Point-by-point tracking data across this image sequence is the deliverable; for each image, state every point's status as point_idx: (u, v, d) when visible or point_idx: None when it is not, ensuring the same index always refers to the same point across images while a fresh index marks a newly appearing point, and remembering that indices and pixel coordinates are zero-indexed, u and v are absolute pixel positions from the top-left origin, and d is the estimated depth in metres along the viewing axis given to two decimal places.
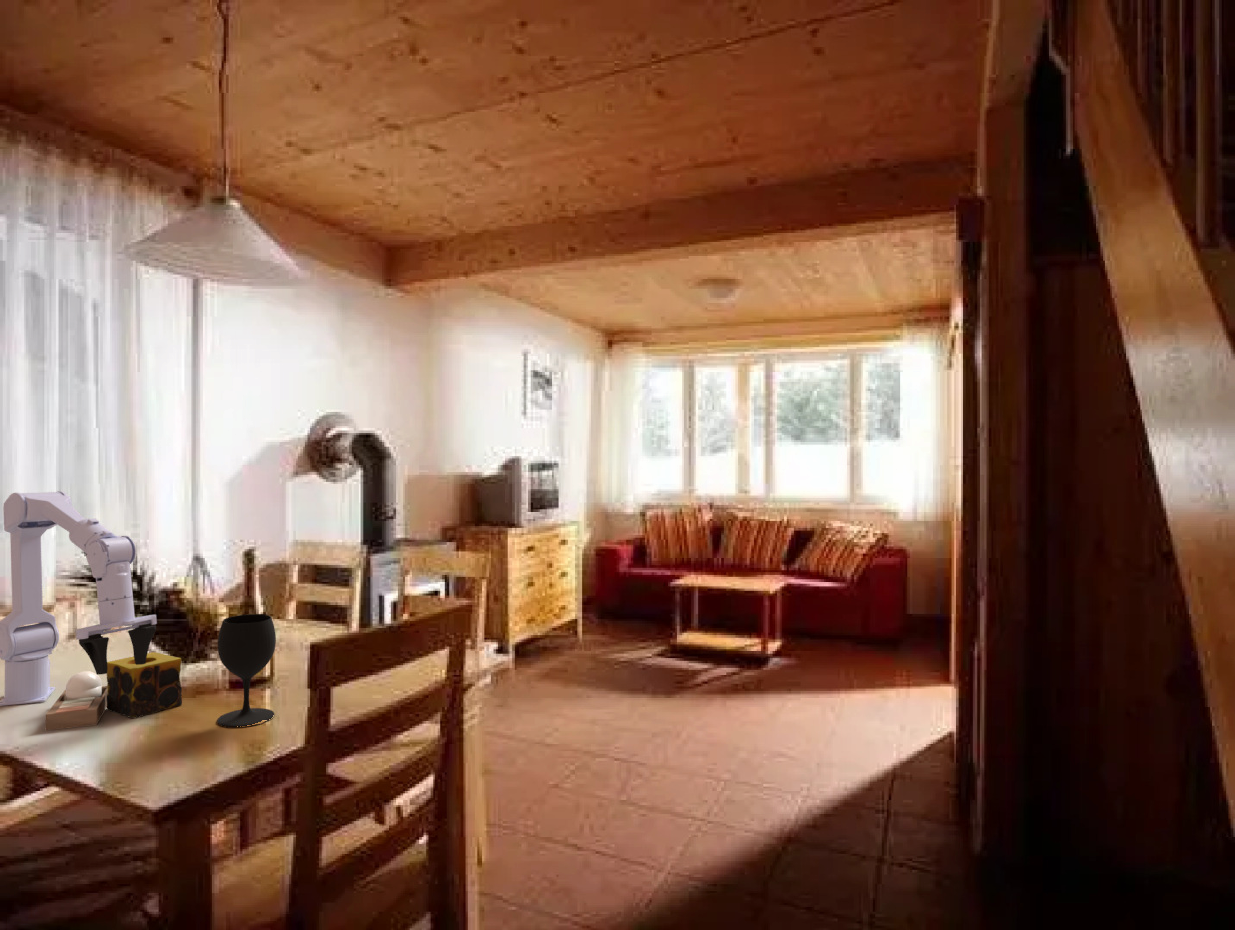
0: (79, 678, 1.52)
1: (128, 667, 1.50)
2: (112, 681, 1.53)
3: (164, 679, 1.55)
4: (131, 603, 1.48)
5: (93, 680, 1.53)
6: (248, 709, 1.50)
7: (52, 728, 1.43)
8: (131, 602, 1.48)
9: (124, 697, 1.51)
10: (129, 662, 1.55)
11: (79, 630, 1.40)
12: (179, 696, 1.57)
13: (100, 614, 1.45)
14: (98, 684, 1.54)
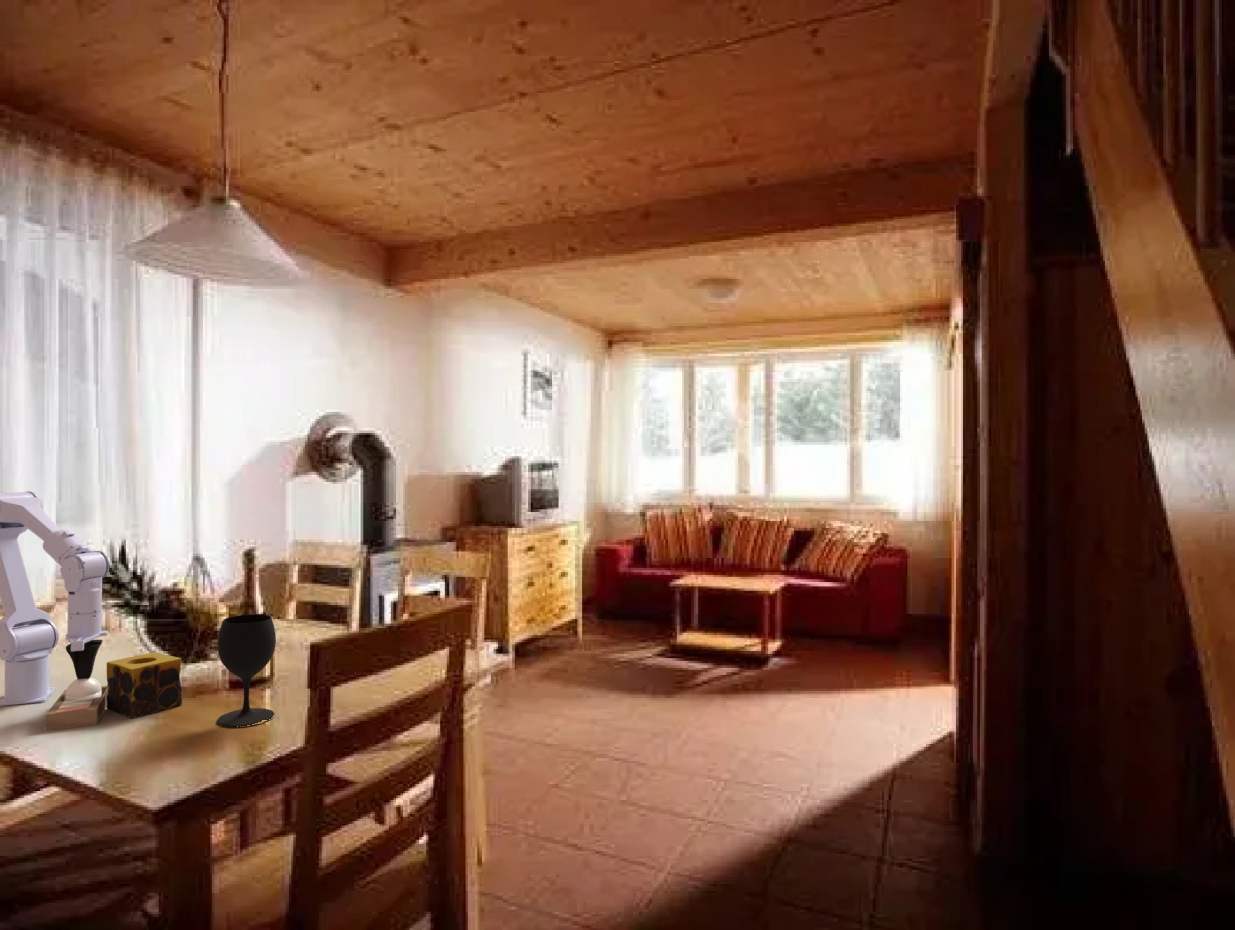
0: (79, 684, 1.52)
1: (128, 667, 1.50)
2: (112, 681, 1.53)
3: (164, 679, 1.55)
4: None
5: (93, 686, 1.53)
6: (248, 709, 1.50)
7: (52, 728, 1.43)
8: None
9: (124, 697, 1.51)
10: (129, 662, 1.55)
11: (77, 642, 1.48)
12: (179, 696, 1.57)
13: (78, 626, 1.51)
14: (98, 690, 1.54)
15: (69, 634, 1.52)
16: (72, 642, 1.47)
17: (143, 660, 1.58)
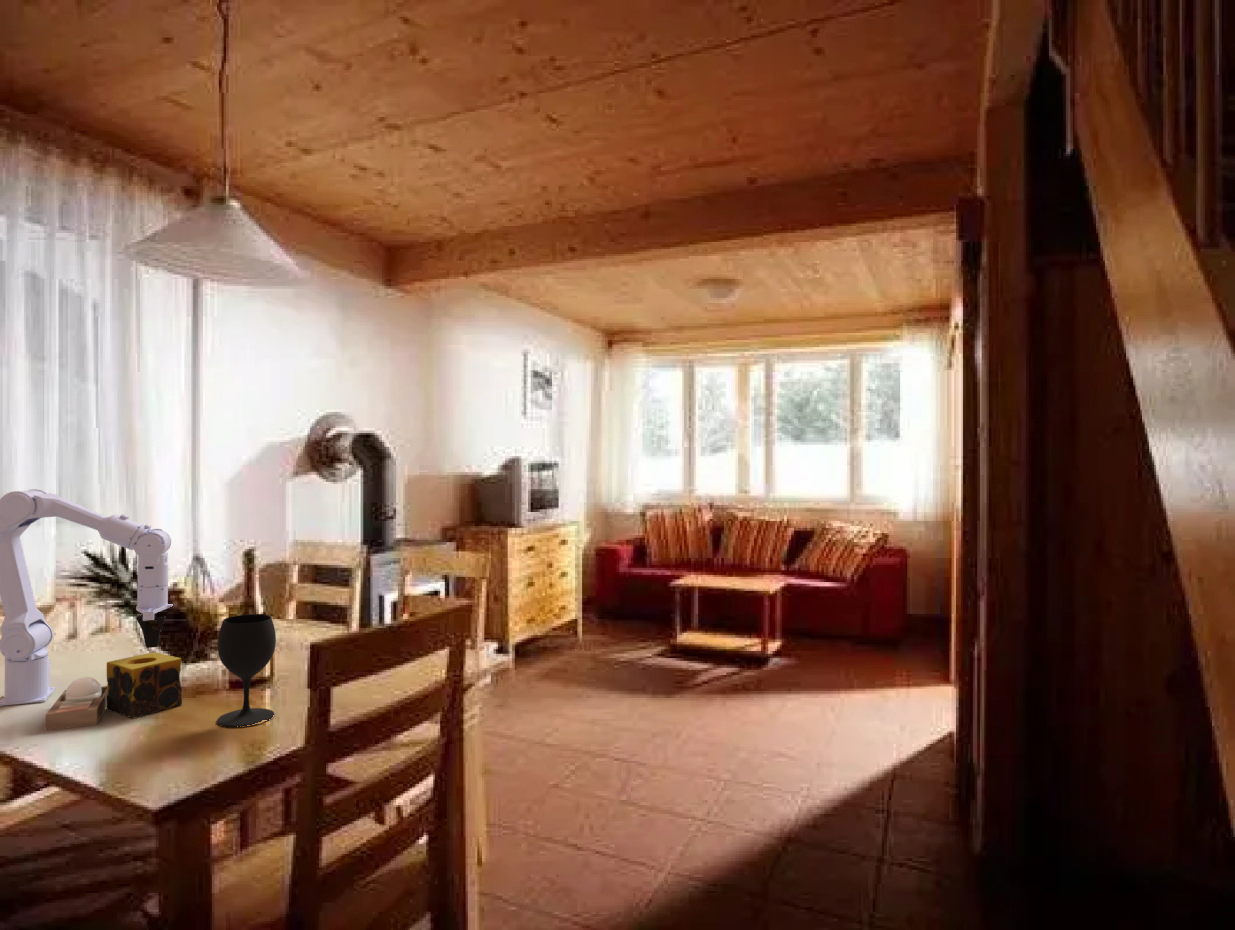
0: (79, 684, 1.52)
1: (128, 667, 1.50)
2: (112, 681, 1.53)
3: (164, 679, 1.55)
4: None
5: (93, 686, 1.53)
6: (248, 709, 1.50)
7: (52, 728, 1.43)
8: None
9: (124, 697, 1.51)
10: (129, 662, 1.55)
11: (149, 612, 1.60)
12: (179, 696, 1.57)
13: (148, 598, 1.63)
14: (98, 690, 1.54)
15: (139, 606, 1.63)
16: (144, 612, 1.59)
17: (143, 660, 1.58)
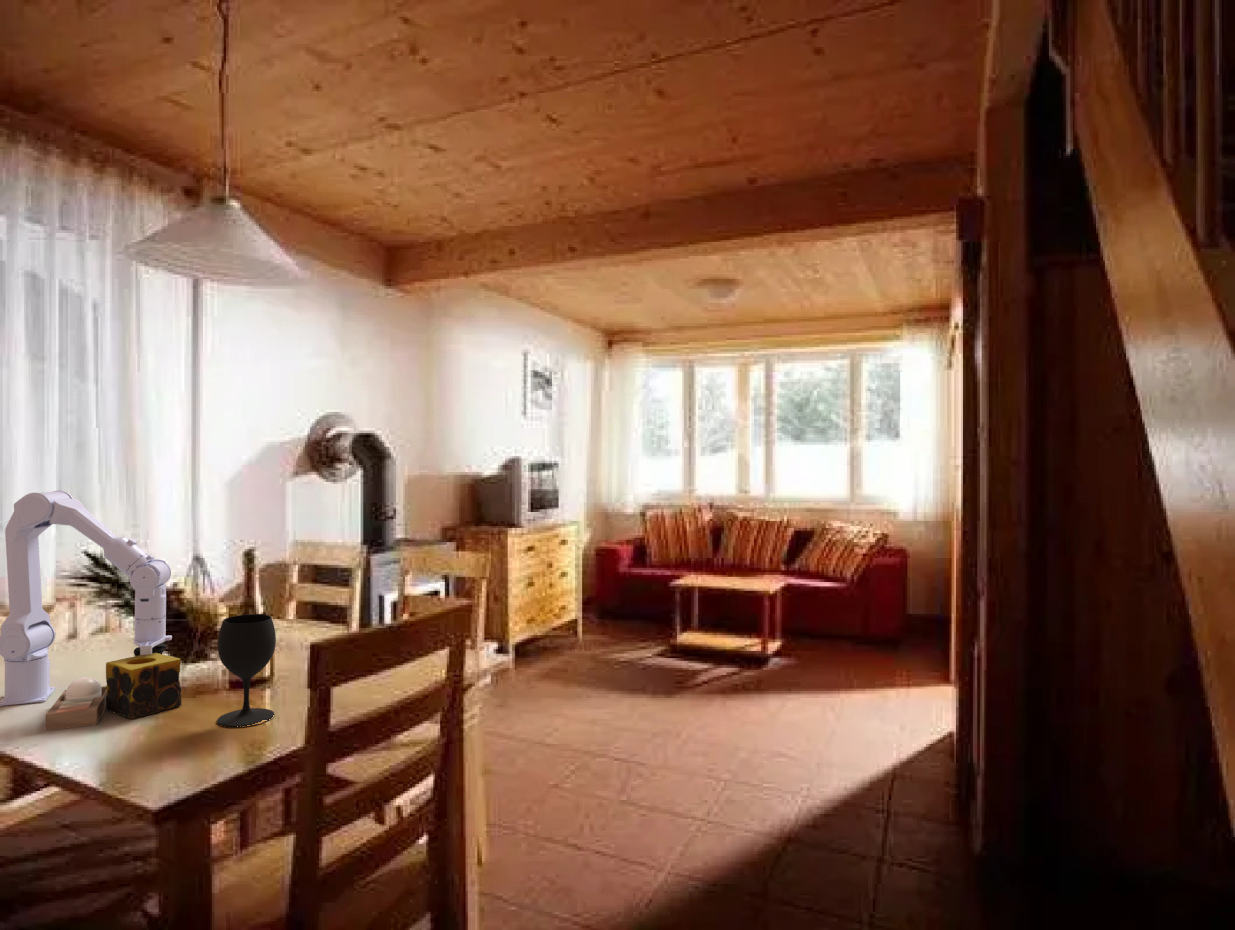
0: (79, 684, 1.52)
1: (127, 667, 1.50)
2: (111, 681, 1.52)
3: (163, 679, 1.54)
4: None
5: (93, 686, 1.53)
6: (248, 709, 1.50)
7: (52, 728, 1.43)
8: None
9: (123, 698, 1.50)
10: (128, 662, 1.55)
11: (146, 646, 1.56)
12: (178, 697, 1.56)
13: (145, 631, 1.60)
14: (98, 690, 1.54)
15: (136, 639, 1.60)
16: (141, 646, 1.56)
17: (143, 660, 1.57)
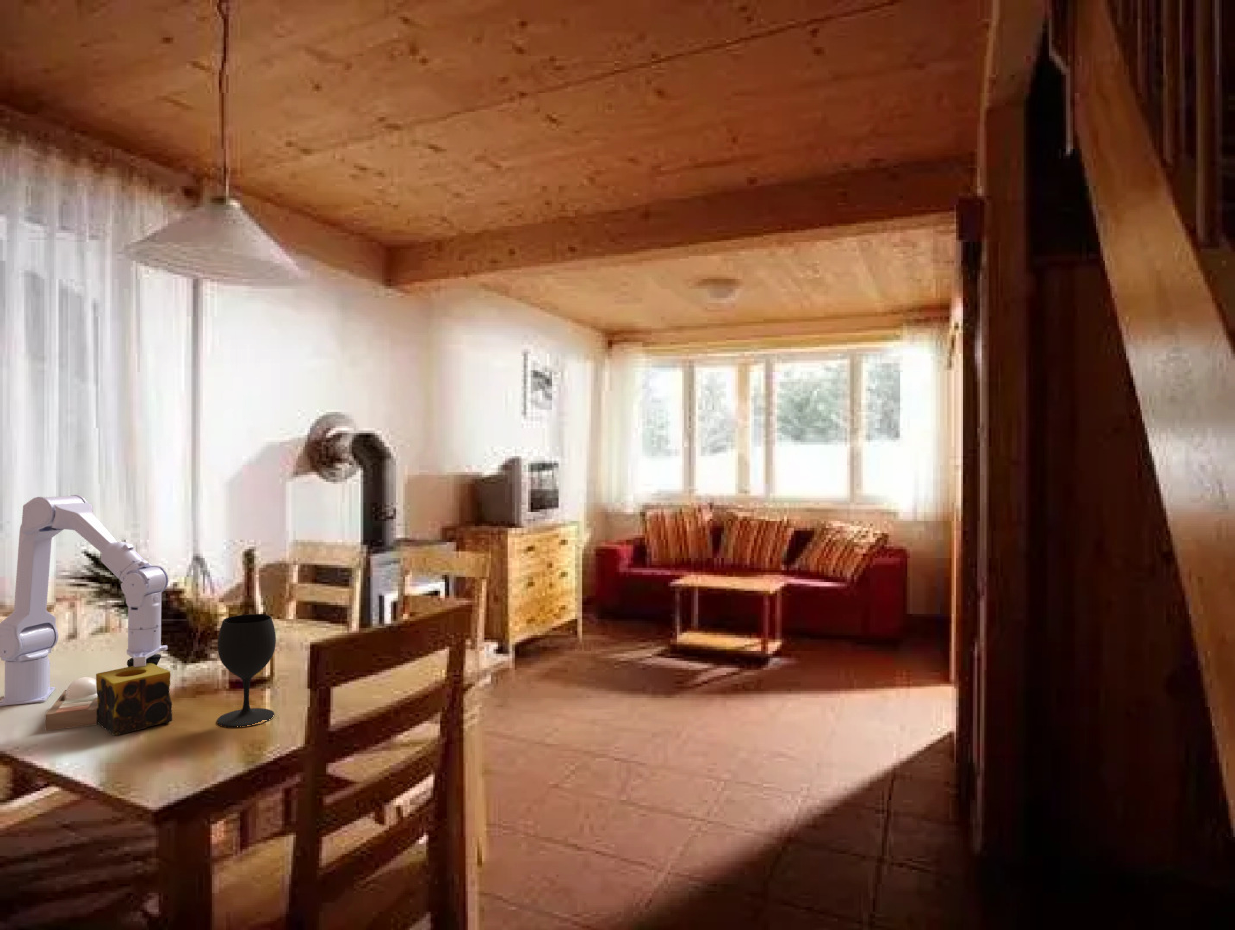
0: (79, 684, 1.52)
1: (111, 681, 1.41)
2: (100, 694, 1.45)
3: (151, 693, 1.45)
4: None
5: (93, 686, 1.53)
6: (248, 709, 1.50)
7: (52, 728, 1.43)
8: None
9: (108, 712, 1.42)
10: (119, 674, 1.46)
11: (140, 658, 1.48)
12: (169, 712, 1.47)
13: (139, 642, 1.52)
14: None
15: (130, 649, 1.52)
16: (135, 658, 1.48)
17: (135, 672, 1.49)
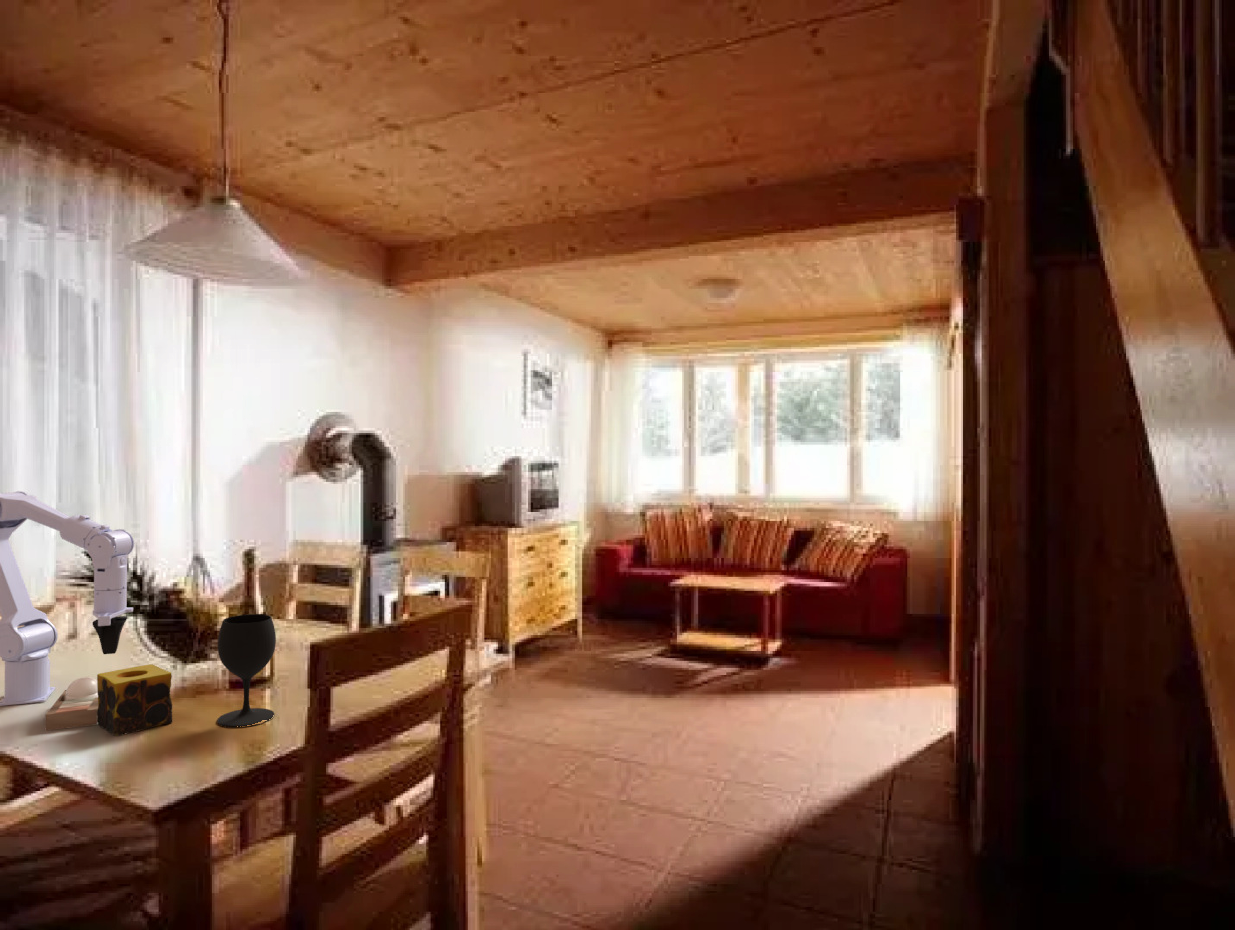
0: (79, 684, 1.52)
1: (113, 681, 1.41)
2: (101, 694, 1.45)
3: (152, 694, 1.45)
4: None
5: (93, 686, 1.53)
6: (248, 709, 1.50)
7: (52, 728, 1.43)
8: None
9: (109, 713, 1.42)
10: (120, 674, 1.47)
11: (104, 617, 1.52)
12: (169, 713, 1.47)
13: (105, 602, 1.55)
14: None
15: (95, 610, 1.55)
16: (99, 617, 1.51)
17: (136, 673, 1.49)
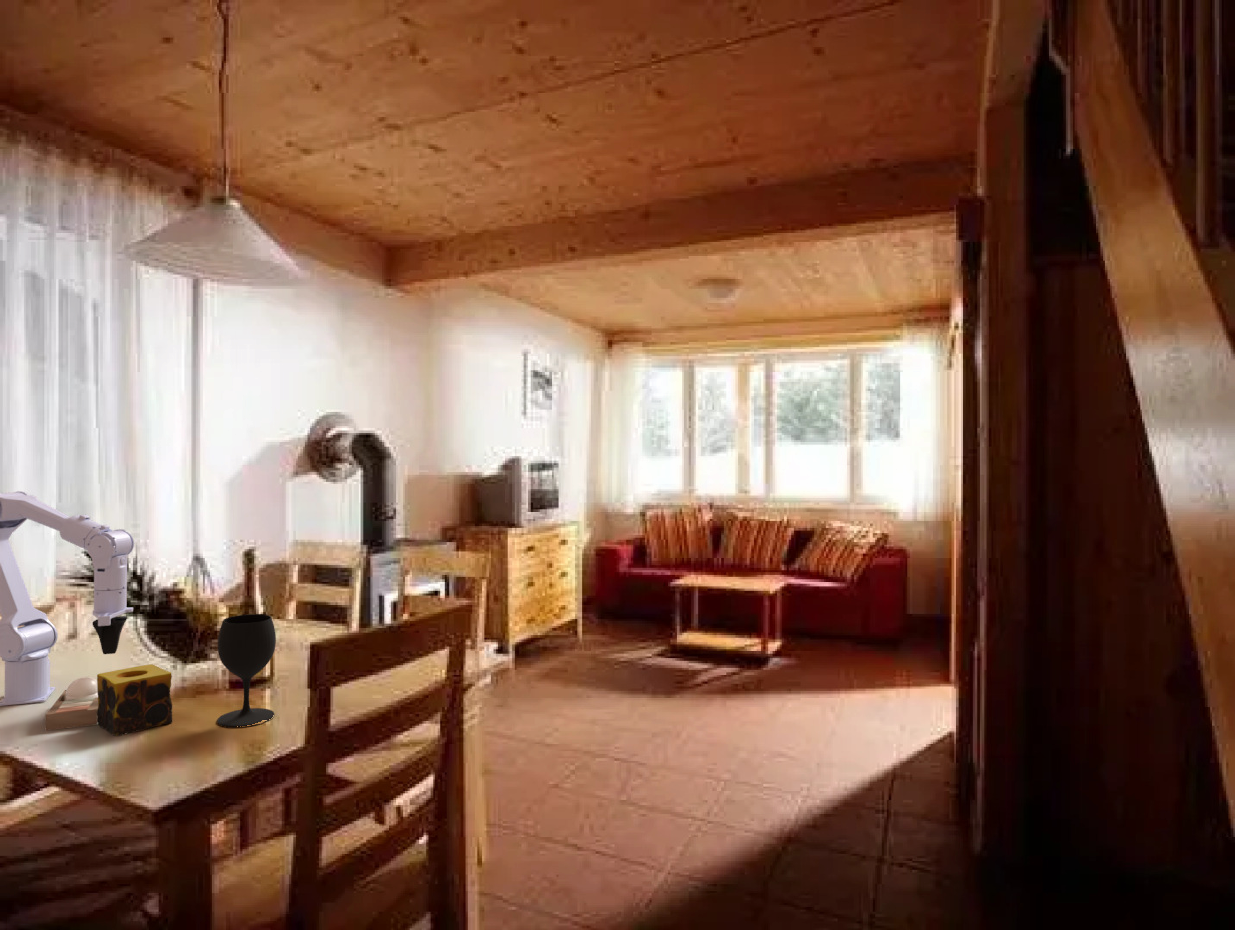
0: (79, 684, 1.52)
1: (113, 681, 1.41)
2: (101, 694, 1.45)
3: (152, 694, 1.45)
4: None
5: (93, 686, 1.53)
6: (248, 709, 1.50)
7: (52, 728, 1.43)
8: None
9: (109, 713, 1.42)
10: (120, 674, 1.47)
11: (104, 617, 1.52)
12: (169, 713, 1.47)
13: (105, 602, 1.55)
14: None
15: (95, 610, 1.55)
16: (99, 617, 1.51)
17: (136, 673, 1.49)
